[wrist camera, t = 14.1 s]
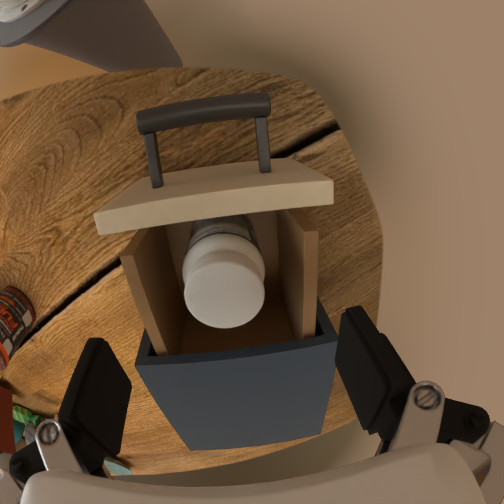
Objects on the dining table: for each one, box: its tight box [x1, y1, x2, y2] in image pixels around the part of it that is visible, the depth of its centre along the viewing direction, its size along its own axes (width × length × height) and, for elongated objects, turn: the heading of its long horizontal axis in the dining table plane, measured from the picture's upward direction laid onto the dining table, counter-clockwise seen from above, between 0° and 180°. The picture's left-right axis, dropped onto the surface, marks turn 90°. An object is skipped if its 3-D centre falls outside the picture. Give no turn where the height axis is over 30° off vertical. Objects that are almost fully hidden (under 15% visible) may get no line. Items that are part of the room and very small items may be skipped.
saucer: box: [104, 458, 132, 475], centre depth 43 cm, size 12×12×2 cm
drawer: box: [93, 92, 334, 356], centre depth 17 cm, size 17×11×9 cm
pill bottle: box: [182, 214, 265, 328], centre depth 17 cm, size 5×5×8 cm
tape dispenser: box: [13, 418, 25, 444], centre depth 33 cm, size 7×15×8 cm, turn 118°
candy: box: [12, 405, 45, 428], centre depth 33 cm, size 12×3×4 cm, turn 82°
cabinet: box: [134, 296, 338, 450], centre depth 23 cm, size 14×13×11 cm
